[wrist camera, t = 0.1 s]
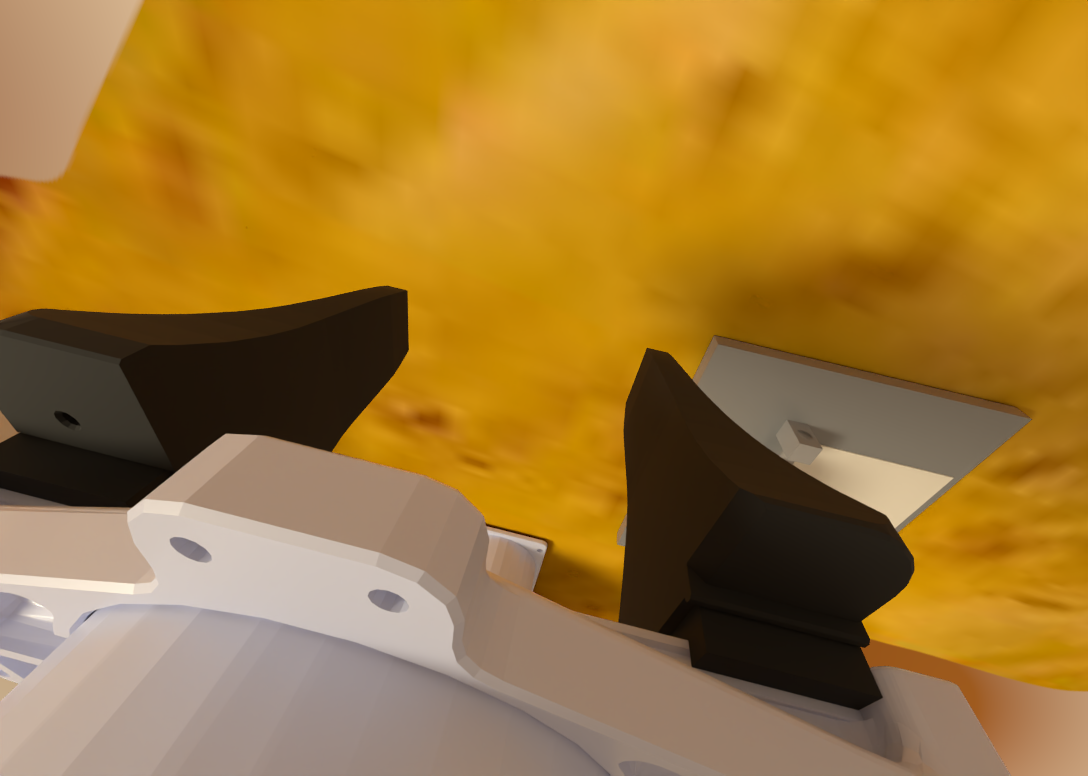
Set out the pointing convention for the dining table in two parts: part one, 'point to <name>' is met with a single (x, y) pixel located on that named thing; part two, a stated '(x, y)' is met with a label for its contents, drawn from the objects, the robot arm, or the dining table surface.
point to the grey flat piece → (854, 425)
